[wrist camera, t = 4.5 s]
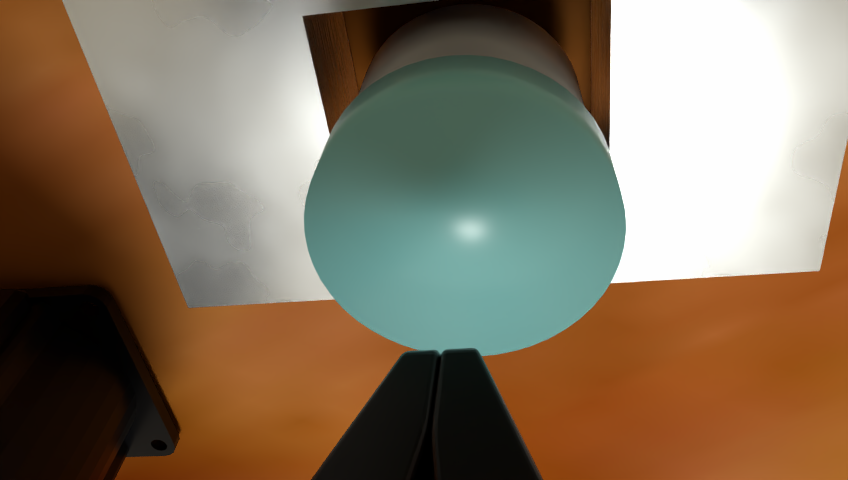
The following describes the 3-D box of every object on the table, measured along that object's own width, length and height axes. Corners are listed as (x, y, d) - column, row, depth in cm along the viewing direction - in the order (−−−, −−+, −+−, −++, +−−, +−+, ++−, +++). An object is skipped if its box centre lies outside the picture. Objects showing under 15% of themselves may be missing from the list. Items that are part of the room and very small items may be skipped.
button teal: (592, 207, 15) (623, 349, 11) (372, 223, 16) (338, 362, 12) (591, -23, 12) (630, 71, 9) (327, 8, 13) (268, 106, 10)
